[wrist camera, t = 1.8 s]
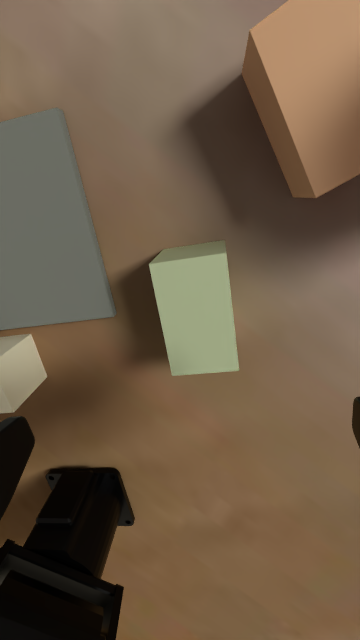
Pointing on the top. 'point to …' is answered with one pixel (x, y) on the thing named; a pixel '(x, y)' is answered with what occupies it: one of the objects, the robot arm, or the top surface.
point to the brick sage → (196, 308)
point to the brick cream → (18, 371)
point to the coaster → (46, 229)
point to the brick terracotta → (309, 90)
